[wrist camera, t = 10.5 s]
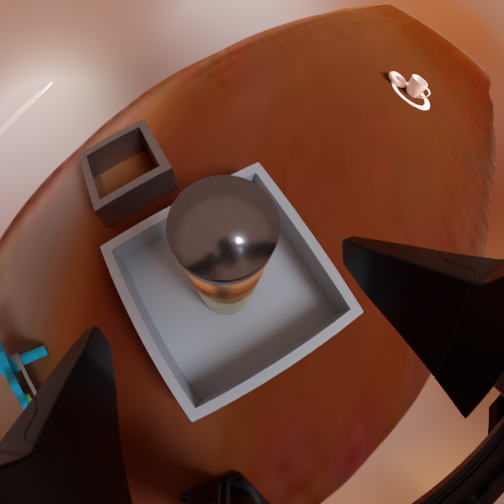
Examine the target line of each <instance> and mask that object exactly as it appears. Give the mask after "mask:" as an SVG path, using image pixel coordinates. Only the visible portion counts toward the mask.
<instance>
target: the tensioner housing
mask: <svg viewBox="0 0 504 504" xmlns="http://www.w3.org/2000/svg"><path fill="white" fill-rule="evenodd" d="M146 148H147V149H148V151H149V153H150V155H151V157H152V159H153V160H154V162H155V164H156V166H157V168H155V169H153V170H151V171H149V172H147V173H145V174H144V175H142V176H140V177H138V178H136V179H134V180H133V181H131V182H129V183H127V184H126V185H124V186H122V187H120V188H119V189H117V190H115V191H114V192H112V193H110V194H108V195H107V196H106V194H105V191H104V188H103V185H102V182H101V179H100V176H99V174H101V173H103V172H104V171H106V170H108V169H110V168H111V167H113V166H115V165H117V164H118V163H120V162H122V161H124V160H125V159H127V158H129V157H131V156H133V155H135V154H137V153H138V152H140V151H142V150H144V149H146ZM79 159H80V163H81V167H82V171H83V174H84V178H85V182H86V185H87V188H88V192H89V195H90V198H91V202H92V205H93V208H94V211H95V212H96V213H97V214H98V216H99V217H100V218H101V219H102V220H103V221H104V222H105V223H106V224H107V225H108V226H109V227H111V226H113V225H115V224H116V223H118V222H120V221H121V220H123V219H125V218H126V217H128V216H130V215H132V214H133V213H135V212H137V211H138V210H140V209H142V208H144V207H146V206H147V205H149V204H151V203H153V202H155V201H156V200H158V199H160V198H162V197H164V196H166V195H167V194H169V193H171V192H173V191H175V190H177V189H178V186H177V183H176V180H175V177H174V174H173V170H172V167H171V166H170V164H169V162H168V160H167V159H166V157H165V155H164V153H163V152H162V150H161V148H160V146H159V145H158V143H157V141H156V139H155V138H154V136H153V134H152V132H151V130H150V129H149V127H148V125H147V123H146V121H145V120H144V119H143V120H141V121H139V122H137V123H135V124H133V125H131V126H129V127H127V128H125V129H123V130H121V131H119V132H117V133H116V134H114V135H112V136H110V137H108V138H106V139H105V140H103V141H101V142H99V143H98V144H96V145H94V146H93V147H91V148H89V149H88V150H86V151H84V152H83V153H81V154H80V155H79Z"/></svg>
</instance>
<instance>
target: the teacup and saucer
mask: <svg viewBox="0 0 504 504" xmlns="http://www.w3.org/2000/svg"><path fill="white" fill-rule="evenodd" d="M389 78H390V80H391V81H392V87H393V89H394V90H395V91H396V93H397V94H398V95H399V96H400V97H401V98H403V99H404V100H405V101H406V102H408V103H409V104H411V105H412V106H414V107H416V108H419V109H422V110H428V109H429V108H430V104H429V101H428V99H427V98H426V97H428V96H429V95H430V90H429V89H427V86H428V84H427V82H426V81H425V80H424V79H423V78H421V77H420V76H418V75H415V74H413V75H412V77H411V79H410V81H409V83H408V82H406V80H405V79H404V78H403V76H401V75H400V74H399V73H397V72H394V71H391V72H390V73H389ZM406 85H407V89H406V92H407V93H408V94H409V95H410V96H411V97H413V98H423V99H424V101H425V104H424V105H423V106H420V105H416V104H414V103H412V102H411V101H409V100H408V99H406V98H405V97H404V96H403V95H402V94H401V93H400V92H399V90H398V89H397V86H398V87H400V88H404V87H406ZM424 90H428V92H429V94H428V95H427V96H425V95H424V94H423V92H424ZM420 95H421V96H422V97H419V96H420Z"/></svg>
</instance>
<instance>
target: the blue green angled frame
mask: <svg viewBox="0 0 504 504" xmlns="http://www.w3.org/2000/svg"><path fill="white" fill-rule="evenodd" d="M47 355H48V354H47V351H46V349H45V347H44V345H43V346H40V347H38V348H36V349H33V350H31V351H28V352H26V353H24V354H21V355H18V353H15V354H12V355H10V356H8V355H6V354H5V352H4V349H3V347H2V344H1V342H0V374H1V375H3V374H4V375H5V377H6V379H8V382H9V384H10V386H11V388H12V390H13V392H14V394H15V396H17V398H18V400H19V402H20V404H21V406H22V408H23V410H24V409H25V408H26V407H27V405H28V404H29V402H30V401H31V400H32V399H31V397H30V396H29V394H28V393H27V394H25V395H24V393H23V391H22V389H21V387H20V385H19V383H18V381H17V379H16V377H15V375H16V372H18V371H22V373H23V375H24V377H25V379H26V381H27V383H28V385H29V387H30V389H31V391H32V393H33V394H34V396H36V393H37V392H36V390H35V388H34V386H33V384H32V382H31V380H30V378H29V376H28V374H27V372H26V370H25V368H24V365H26V364H28V363H31V362H33V361H35V360H37V359H40V358H42V357H44V356H47Z"/></svg>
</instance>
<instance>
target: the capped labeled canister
mask: <svg viewBox="0 0 504 504" xmlns="http://www.w3.org/2000/svg"><path fill="white" fill-rule="evenodd" d="M166 235H167V240H168V243H169V246H170V248H171V251H172V252H173V254H174V255H175V257H176V259H177V260H178V262H179V263H180V265H181V267H182V268H183V270H184V271H185V273H186V275H187V276H188V278H189V279H190V281H191V282H192V284H193V285H194V287H195V289H196V290H197V292H198V293H199V295H200V296H201V298H202V299H203V301H204V302H205V304H206V305H207V306H208V307H209V308H210V309H211V310H212V311H214V312H216V313H218V314H223V315H230V314H234V313H237V312H239V311H241V310H242V309H243V308H244V307H245V306H246V305H247V303H248V302H249V300H250V298H251V296H252V294H253V292H254V290H255V288H256V286H257V284H258V282H259V280H260V278H261V276H262V274H263V272H264V270H265V268H266V266H267V264H268V262H269V260H270V258H271V256H272V254H273V252H274V250H275V248H276V245H277V243H278V239H279V235H280V218H279V214H278V210H277V208H276V206H275V204H274V202H273V200H272V199H271V197H270V196H269V195H268V194H267V193H266V192H265V191H264V190H263V189H262V188H261V187H260V186H258V185H257V184H255V183H253V182H252V181H250V180H247V179H245V178H242V177H238V176H233V175H214V176H209V177H206V178H203V179H200V180H198V181H196V182H194V183H192V184H190V185H189V186H188V187H186V188H185V189H184V190H183V191H182V192H181V193H180V194H179V195H178V196H177V197H176V199H175V200H174V202H173V203H172V205H171V208H170V210H169V213H168V216H167V221H166Z"/></svg>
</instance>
